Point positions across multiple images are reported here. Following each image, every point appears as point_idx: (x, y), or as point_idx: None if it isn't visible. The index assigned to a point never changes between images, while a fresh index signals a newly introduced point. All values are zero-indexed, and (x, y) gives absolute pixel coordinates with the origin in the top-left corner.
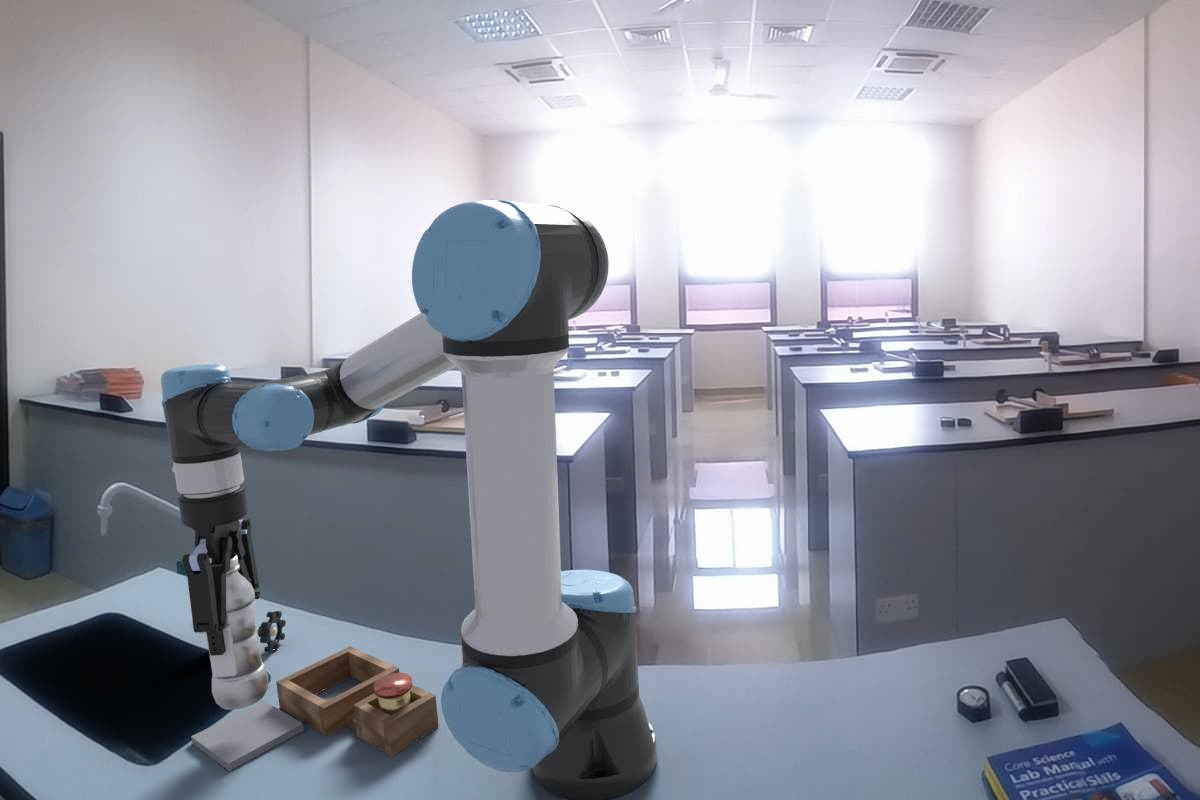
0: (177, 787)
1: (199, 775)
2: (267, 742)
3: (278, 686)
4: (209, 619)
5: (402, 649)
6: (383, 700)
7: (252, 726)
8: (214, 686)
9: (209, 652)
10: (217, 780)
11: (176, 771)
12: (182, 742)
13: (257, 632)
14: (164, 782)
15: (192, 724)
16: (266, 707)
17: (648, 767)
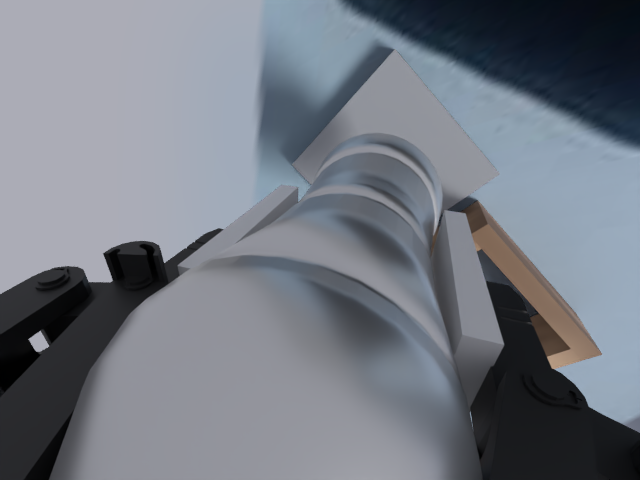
0: (266, 87)
1: (292, 114)
2: None
3: (478, 224)
4: (19, 371)
5: (621, 386)
6: None
7: None
8: (325, 160)
9: (243, 215)
10: (277, 150)
11: (307, 61)
12: (407, 20)
13: None
14: (280, 53)
15: (487, 5)
16: (463, 185)
17: None
